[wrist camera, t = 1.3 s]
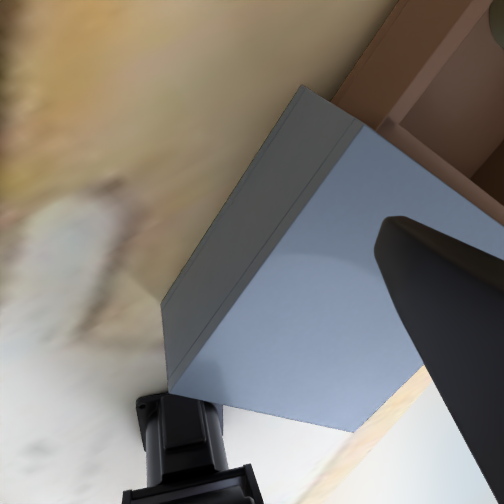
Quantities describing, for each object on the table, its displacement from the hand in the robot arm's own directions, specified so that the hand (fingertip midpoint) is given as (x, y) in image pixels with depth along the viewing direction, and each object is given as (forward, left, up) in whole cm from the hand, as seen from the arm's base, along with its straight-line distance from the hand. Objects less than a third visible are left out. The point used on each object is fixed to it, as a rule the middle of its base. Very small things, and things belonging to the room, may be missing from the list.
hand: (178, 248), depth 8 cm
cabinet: (-10, -9, -14) cm, 20 cm away
